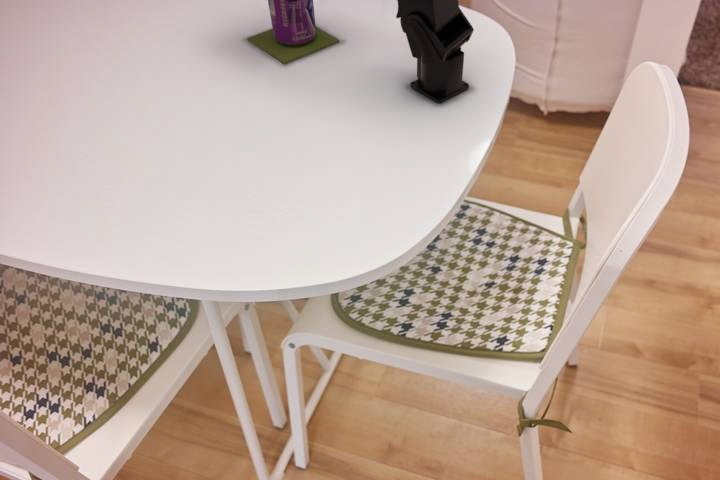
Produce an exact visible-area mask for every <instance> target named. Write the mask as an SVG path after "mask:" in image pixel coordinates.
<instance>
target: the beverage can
mask: <svg viewBox="0 0 720 480" xmlns="http://www.w3.org/2000/svg"><path fill="white" fill-rule="evenodd" d="M267 3H268V9H269V16H270V21H271V22H270V23H271V27H272V28H271V29H273V34H274V38H275V39H276V40H277V41H279V42H281V43H285V44H287V45H301V44H304V43H306V42H308V41H310V40H311V39H313V38H314V37H315V36H316V33H317V32H316V27H317V24H316V16H315V7H314V0H267Z"/></svg>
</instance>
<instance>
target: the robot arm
mask: <svg viewBox="0 0 720 480" xmlns="http://www.w3.org/2000/svg"><path fill="white" fill-rule="evenodd" d="M395 18H396V19H399V18H400V19H399V20H400V21H399V22H400V27H401V30H402V32H403V33H404V34H405V36H406V40H407V43H408V47H409V50H410V52H411V56H412V58H415V59H416V78H417V79H415V80H413V81H411V82H410V84H409V85H410V88H412V89H414V90H416V91H417V92H419V93H420V94H422V95H424V96H426V97H427V98H429V99H431V100H433V102H436V103H439V104H440V103H442V102H444V101H447V100H449V99H451V98H453V97H454V96H456V95H458V94H460V93H462V92H464V91H466V90H468V89H470V84H469V83H468V82H466V81H464V80H463V75H464V62H465V52H464V51H462V46H464V45H465V44H466V43H468V42H469V41H470V40H471V37H472V35H473V33H474V27H473V25H472V24H471V23H470V21H469V19H468V18H467V16H466V15H465V14H464V12H463V11H462V9H461V8H460V4H459V0H397V12H396V16H395Z"/></svg>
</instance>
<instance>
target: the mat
mask: <svg viewBox="0 0 720 480" xmlns="http://www.w3.org/2000/svg"><path fill="white" fill-rule="evenodd" d="M316 32H317V33H316V36H315V37H314V38H313V39H311V40H310V41H308V42H306V43H304V44H301V45H287V44H285V43H281V42H279V41H277V40H276V39H275V38H274V34H273V28H270V29H268V30H265V31H262V32H260V33H259V32H258V33H257V34H254V35H251V36H249V37H247V41H248V42H250V43H251V44H253V45H254V46H256V47H257V48H259V49H261V50H262V51H263V52H265V53H267V54H268V55H269V56H271V57H272V58H274V59H275V60H277V61H279V62H280V63H281V64H283V65H286V64H289V63H292V62H294V61H297V60H299V59H301V58H304V57H306V56H309V55H311V54H314V53H316V52H318V51H321V50H324V49H326V48H329V47H332V46H333V45H336V44H338V43H340V39H339V38H337V37H335V36H333V35H331V34H329V33H328V32H326V31H324V30H323V29H321V28H319V27H317V26H316Z"/></svg>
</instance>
